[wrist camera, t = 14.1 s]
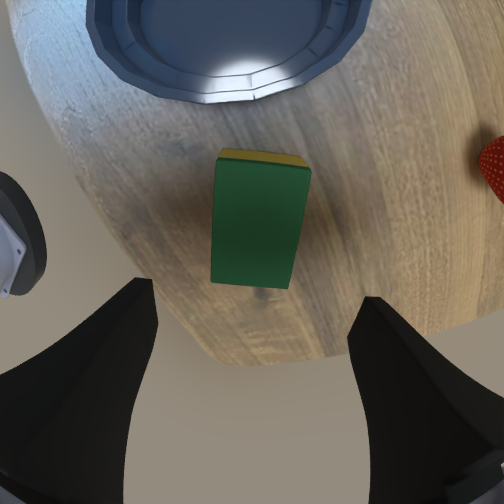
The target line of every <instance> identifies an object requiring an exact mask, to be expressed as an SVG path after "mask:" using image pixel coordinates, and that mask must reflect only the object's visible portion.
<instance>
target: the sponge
mask: <svg viewBox="0 0 504 504" xmlns="http://www.w3.org/2000/svg"><path fill="white" fill-rule="evenodd" d="M311 173H312V171H311V169H310V168H309V167H308V166H307V164H306V163H305V162H304V161H303V160H302V158H301V157H300V156H293V155H286V154H278V153H270V152H261V151H251V150H241V149H229V148H224V149H223V150H222V152H221V153H220V155H219V157H218V159H217V160H216V169H215V185H214V202H213V222H212V246H211V279H210V281H211V283H221V284H232V285H243V286H255V287H267V288H280V289H288V287H289V282H290V278H291V273H292V269H293V264H294V259H295V255H296V250H297V245H298V241H299V236H300V231H301V226H302V221H303V216H304V211H305V205H306V200H307V195H308V189H309V184H310V179H311Z"/></svg>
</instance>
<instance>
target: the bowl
mask: <svg viewBox="0 0 504 504" xmlns="http://www.w3.org/2000/svg"><path fill="white" fill-rule="evenodd" d="M372 1H373V0H87V6H86V28H87V31H88V33H89V36H90V39H91V41H92V44H93V47H94V49H95V52H96V54H97V56H98V57H99V58H100V59H101V60H102V61H103V62H104V63H105V64H106V65H107V66H108V67H109V68H110V69H111V70H112V71H113V72H114V73H115V74H116V75H117V76H118V77H119V78H120V79H121V80H122V81H124V82H127V83H129V84H131V85H133V86H135V87H137V88H140V89H142V90H144V91H146V92H148V93H150V94H152V95H154V96H156V97H159V98H166V99H174V100H180V101H186V102H192V103H198V104H224V103H236V102H253V101H257V100H260V99H263V98H266V97H269V96H272V95H275V94H278V93H281V92H284V91H288V90H291V89H294V88H297V87H300V86H302V85H304V84H306V83H307V82H309V81H310V80H312V79H313V78H315V77H316V76H318V75H319V74H321V73H323V72H324V71H326V70H327V69H329V68H331V67H332V66H334V65H336V64H337V63H339V61H341V60H342V59H343V57H344V56H345V55H346V54H347V52H348V51H349V50H350V49H351V47H352V46H353V45H354V44H355V42H356V41H357V40H358V39H359V38H360V36H361V35H362V34H363V32H364V30H365V27H366V23H367V19H368V16H369V12H370V8H371V5H372Z"/></svg>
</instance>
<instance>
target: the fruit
mask: <svg viewBox="0 0 504 504" xmlns="http://www.w3.org/2000/svg"><path fill="white" fill-rule="evenodd" d="M478 164H479V168H480V171H481V173H482V175H483V177H484V178H485V180H486V181H487V183H488V184H489V186H490V187H491V189H492V190H493V192H494V193H495V195H496V196H497V197H498V199H499V200H500V201H501V202H502V203H503V204H504V136H501V137H499V138H497V139H495V140H493V141H492V142H491V143H489V144H488V145H487V146H486V147H485V148H484V149H483V150H482V152H481V154H480V156H479V159H478Z"/></svg>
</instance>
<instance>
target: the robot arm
mask: <svg viewBox="0 0 504 504" xmlns="http://www.w3.org/2000/svg"><path fill="white" fill-rule="evenodd" d="M26 250H27V247H26V244H25V243H24V242H23V241H22V240H21V238H20V237H19V236H18V235H17V234H16V233H15V231H14V230H13V229H12V228H11V226H10V225H9V224H8V223H7V222H6V220H5V219H4V218H3V216H2V215H1V214H0V294H1V295H2V296H3V297H4V298H8V296H9V294H10V291H11V288H12V285H13V282H14V280H15V277H16V274H17V272H18V269H19V267H20V264H21V262H22V260H23V257H24V255H25V253H26ZM157 328H158V317H157V312H156V305H155V298H154V290H153V283H152V279H145V278H136V277H135V278H134V279H133V280H131V281H130V282H129V283H128V284H127V285H125V286H124V287H123V288H122V289H121V290H120V291H118V292H117V293H116V294H115V295H114V296H113V297H112V298H110V299H109V300H108V301H107V302H106V303H105V304H104V305H102V306H101V307H100V308H99V309H98V310H97V311H95V312H94V313H93V314H92V315H91V316H89V317H88V318H87V319H86V320H84V321H83V322H82V323H81V324H79V325H78V326H77V327H76V328H74V329H73V330H72V331H71V332H69V333H68V334H67V335H66V336H64V337H63V338H61V339H60V340H59V341H57V342H56V343H54V344H53V345H51V346H50V347H48V348H47V349H45V350H44V351H42V352H41V353H39V354H37V355H36V356H34V357H32V358H31V359H29V360H27V361H25V362H24V363H22V364H20V365H19V366H17V367H15V368H13V369H11V370H9V371H7V372H5V373H3V374H1V375H0V504H123V480H124V465H125V454H126V446H127V439H128V432H129V426H130V421H131V415H132V411H133V407H134V403H135V399H136V397H137V394H138V391H139V388H140V385H141V382H142V379H143V375H144V373H145V370H146V367H147V364H148V361H149V358H150V356H151V353H152V349H153V346H154V342H155V337H156V332H157ZM347 339H348V346H349V353H350V359H351V363H352V367H353V371H354V374H355V378H356V381H357V385H358V388H359V392H360V396H361V399H362V403H363V407H364V411H365V415H366V420H367V427H368V436H369V445H370V469H371V470H370V493H369V503H368V504H504V466H503V467H501V464H502V463H503V462H504V398H503V397H501V396H499V395H498V394H496V393H494V392H492V391H491V390H489V389H487V388H486V387H484V386H482V385H481V384H479V383H478V382H476V381H475V380H473V379H472V378H471V377H469V376H468V375H466V374H465V373H464V372H462V371H461V370H460V369H458V368H457V367H456V366H455V365H454V364H452V363H451V362H450V361H449V360H447V359H446V358H445V357H444V356H443V355H442V354H440V353H439V352H438V351H437V350H436V349H435V348H434V347H433V346H432V345H431V344H429V343H428V342H427V341H426V340H425V339H424V338H423V337H422V336H421V335H420V334H419V333H418V332H417V331H416V330H415V329H414V328H413V327H412V326H411V325H410V324H409V323H408V322H407V321H406V320H405V319H404V318H403V317H402V316H401V315H400V314H398V313H397V312H396V311H395V310H394V309H393V308H392V307H391V306H390V305H389V304H388V303H387V302H385V301H384V300H383V299H382V298H381V297H367V296H365V298H364V301H363V303H362V305H361V308H360V310H359V312H358V314H357V317H356V319H355V321H354V323H353V325H352V328H351V330H350V332H349V334H348V336H347Z"/></svg>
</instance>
